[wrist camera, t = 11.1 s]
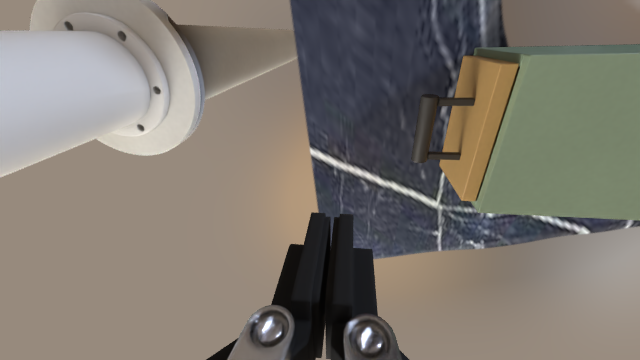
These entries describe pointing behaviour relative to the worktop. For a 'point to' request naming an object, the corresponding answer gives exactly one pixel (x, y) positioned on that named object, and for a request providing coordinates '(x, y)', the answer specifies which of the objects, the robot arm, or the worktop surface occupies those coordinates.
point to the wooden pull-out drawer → (468, 122)
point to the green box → (567, 134)
